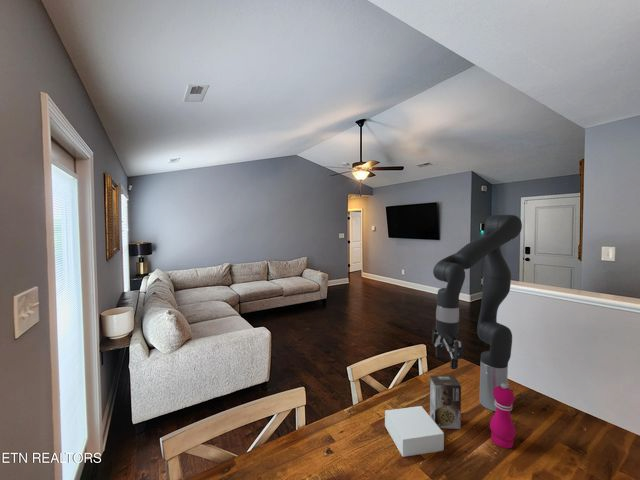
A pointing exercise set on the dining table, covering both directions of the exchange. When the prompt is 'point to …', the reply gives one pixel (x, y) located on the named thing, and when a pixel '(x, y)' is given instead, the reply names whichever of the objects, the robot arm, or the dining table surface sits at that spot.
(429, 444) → the riser block
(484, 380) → the robot arm
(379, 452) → the dining table surface
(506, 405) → the pepper mill
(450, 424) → the coffee box
